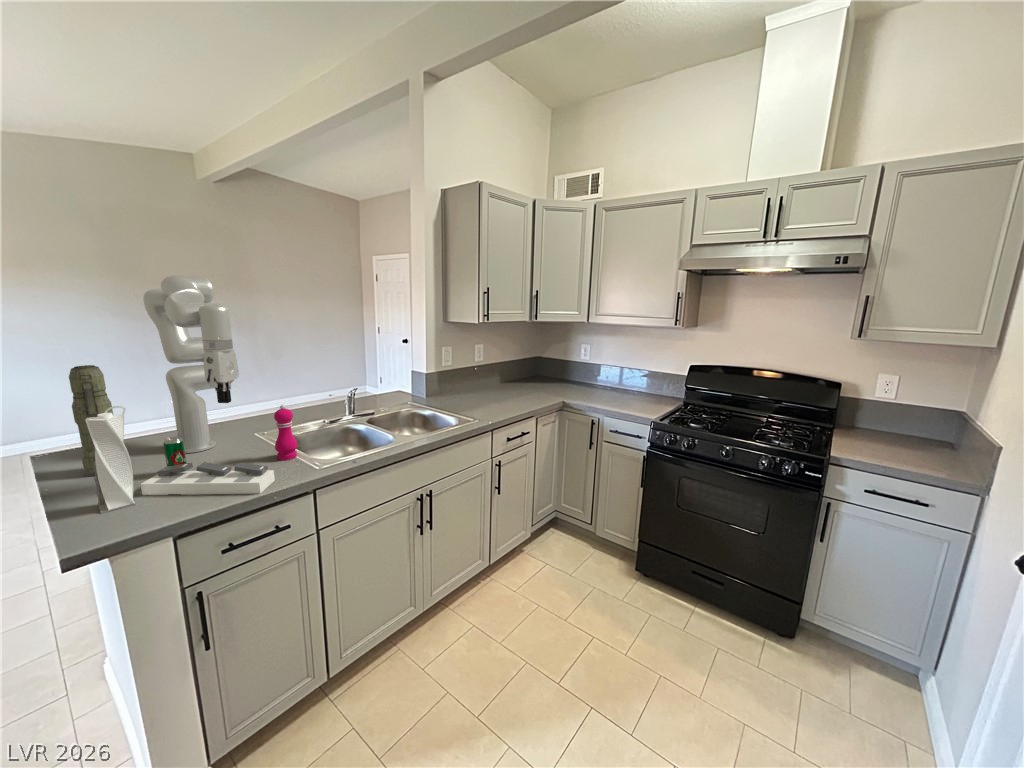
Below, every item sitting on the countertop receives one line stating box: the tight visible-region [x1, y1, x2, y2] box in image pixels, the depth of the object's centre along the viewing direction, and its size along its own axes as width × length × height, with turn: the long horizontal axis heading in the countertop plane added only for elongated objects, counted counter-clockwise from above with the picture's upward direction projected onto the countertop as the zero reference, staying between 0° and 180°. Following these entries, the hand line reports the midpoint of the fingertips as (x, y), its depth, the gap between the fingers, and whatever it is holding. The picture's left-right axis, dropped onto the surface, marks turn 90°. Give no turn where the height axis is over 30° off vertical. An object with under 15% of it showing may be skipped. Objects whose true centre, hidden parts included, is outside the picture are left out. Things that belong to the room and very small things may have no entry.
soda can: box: [162, 435, 187, 467], centre depth 133 cm, size 5×5×12 cm
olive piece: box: [68, 364, 114, 477], centre depth 130 cm, size 9×12×35 cm
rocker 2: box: [233, 462, 269, 475], centre depth 127 cm, size 8×4×2 cm, turn 95°
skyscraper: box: [85, 405, 136, 515], centre depth 111 cm, size 8×8×28 cm
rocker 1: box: [156, 462, 194, 476], centre depth 125 cm, size 8×4×2 cm, turn 95°
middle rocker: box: [195, 461, 232, 476], centre depth 126 cm, size 8×4×2 cm, turn 95°
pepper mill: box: [273, 404, 298, 461], centre depth 148 cm, size 7×7×20 cm
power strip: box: [140, 469, 276, 496], centre depth 125 cm, size 33×9×4 cm, turn 95°
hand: (224, 402), depth 130 cm, fingers closed
